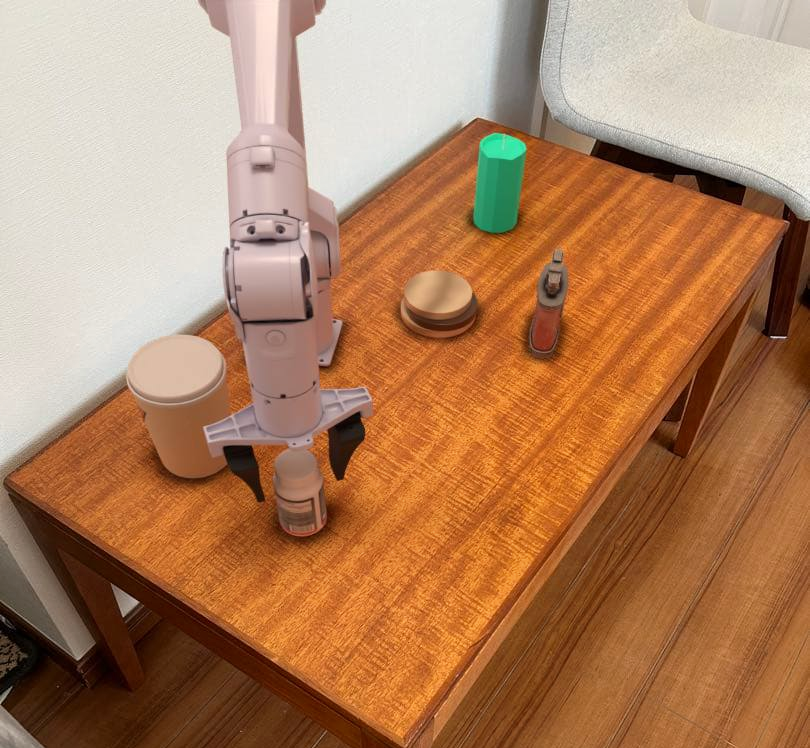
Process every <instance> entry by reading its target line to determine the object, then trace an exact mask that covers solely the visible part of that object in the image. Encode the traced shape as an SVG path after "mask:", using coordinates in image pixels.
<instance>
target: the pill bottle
mask: <svg viewBox="0 0 810 748" xmlns="http://www.w3.org/2000/svg"><path fill="white" fill-rule="evenodd" d="M273 469H274V474H273V477H272V486H273V487H272V488H273V493H274V498H275V503H276V509H277V515H278V521H279V524H280V526H281V527H282V529H283V530H284V531H285V532H286V533H288V534H290V535H292V536H296V537H308V536H311V535H313V534H316V533H318V532H319V531H320V530H322V528H323V527H324V526H325V525H326V522H327V518H328V516H327V503H326V502H327V501H326V493H325V484H324V477H323V472H322V471H321V469H320V467H319V463H318V459H317V456H316V455H315V454H314V453H313V452H312V451H310V449H307V450H303V451H299V452H292V451H290V449H289V448H287V449H285V450H283V451H282V452H280V453H279V454H278V455H277V456H276V457H275V459H274V462H273Z"/></svg>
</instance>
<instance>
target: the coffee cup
mask: <svg viewBox="0 0 810 748" xmlns="http://www.w3.org/2000/svg"><path fill="white" fill-rule="evenodd" d="M227 369H228V368H227V361H226V359H225V356H224V355H223V354H222V352H221V351H220V350H219V349H218V348H217V347H216V346H215V344H213V343H212V342H210V341H209V340H207V339H205V338H202V337H200V336H197V335H190V334H171V335H170V334H169V335H166V336H162V337H158V338H155V339H153V340H151V341H148V342H147V343H146V344H144V345H143V346H141V347H140V348H139V349H137V350H136V351H135V352H134V353H133V354H132V357H131V358H130V359H129V362H128V366H127V368H126V374H125V380H126V384H127V387H128V389H129V391H130V393H131V394H132V395H133V398H134V401H135V403H136V406H137V408H138V410H139V413H140V415H141V418H142V420H143V422H144V425H145V427H146V429H147V431H148V434H149V436H150V438H151V441H152V444H153V445H154V449H155V450H156V452H157V454H158V456H159V458H160V461H161V463H162V465H163V466H164V467H165V468H166V470H168V471H169V472H170V473H172V474H173V475H175V476H178V477H181V478H186V479H200V478H201V479H202V478H206V477H209V476H212V475H214V474H217V473H218V472H220V471H221V470H223V469H224V468H225V467H226V466H228V464H227V461H226V458H225V455H224V454H223V455H221V456H217V457H214V458H212V456H211V453H210V450H209V447H208V444H207V441H206V437H205V433H204V429H203V427H205V426H208V425H211V424H214V423H217V422H219V421H221V420H223V419H225V418H227V417H229V416H231V415H232V409H231V402H230V394H229V386H228V378H227V371H228V370H227Z"/></svg>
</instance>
